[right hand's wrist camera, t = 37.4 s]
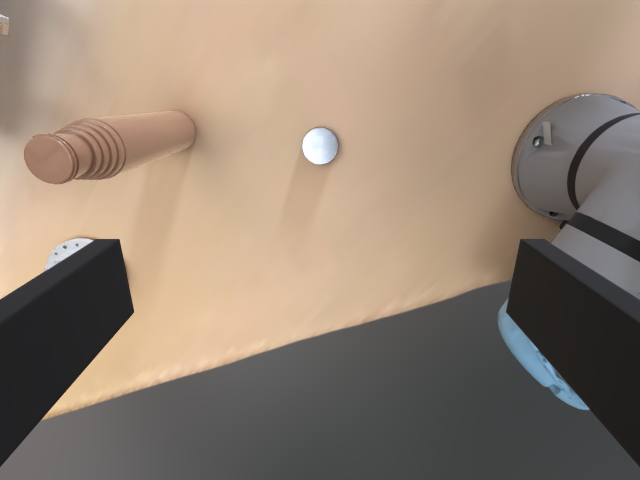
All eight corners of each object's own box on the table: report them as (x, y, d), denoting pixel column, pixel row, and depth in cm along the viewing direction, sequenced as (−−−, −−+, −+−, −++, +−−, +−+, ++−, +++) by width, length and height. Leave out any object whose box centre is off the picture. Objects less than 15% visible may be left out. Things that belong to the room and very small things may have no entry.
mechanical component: (59, 226, 51) (48, 287, 54) (36, 237, 46) (26, 303, 50) (132, 252, 52) (117, 310, 55) (116, 266, 48) (101, 327, 51)
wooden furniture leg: (202, 143, 47) (98, 183, 25) (168, 155, 47) (37, 204, 25) (186, 105, 45) (60, 112, 23) (150, 117, 46) (-5, 136, 24)
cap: (300, 128, 46) (300, 129, 45) (335, 124, 46) (336, 125, 44) (305, 163, 48) (304, 166, 46) (338, 160, 48) (339, 162, 46)
